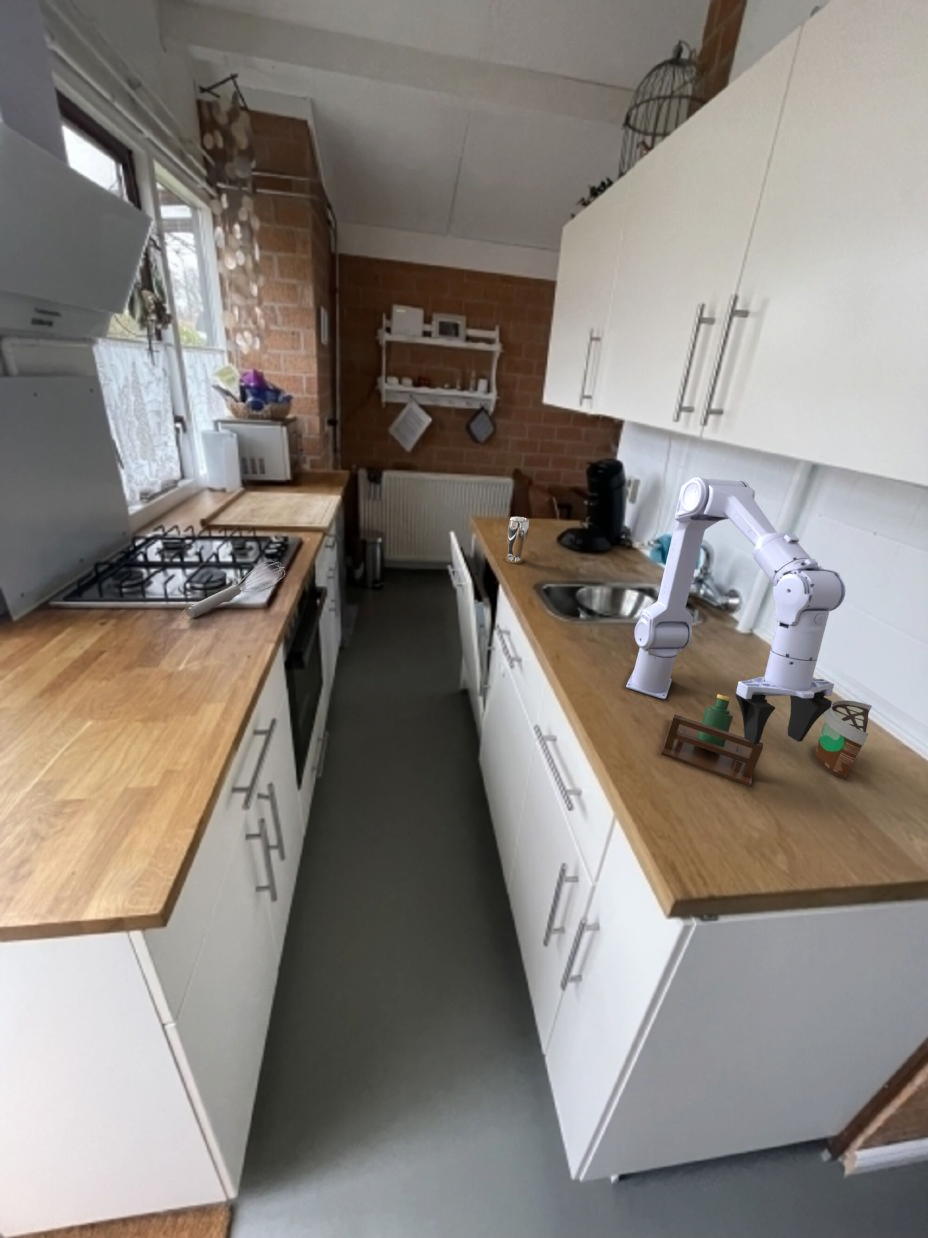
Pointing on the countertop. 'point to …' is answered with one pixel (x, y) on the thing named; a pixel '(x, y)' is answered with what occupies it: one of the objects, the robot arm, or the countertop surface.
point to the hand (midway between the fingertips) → (773, 739)
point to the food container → (842, 736)
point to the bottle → (717, 720)
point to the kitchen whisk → (223, 596)
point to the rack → (711, 750)
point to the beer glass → (516, 538)
